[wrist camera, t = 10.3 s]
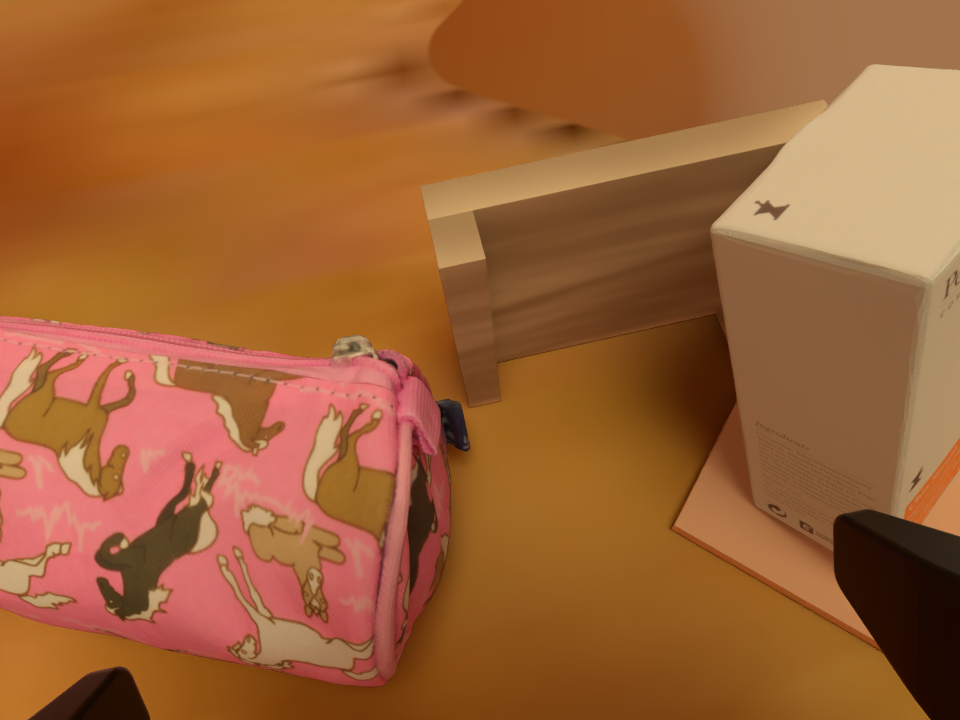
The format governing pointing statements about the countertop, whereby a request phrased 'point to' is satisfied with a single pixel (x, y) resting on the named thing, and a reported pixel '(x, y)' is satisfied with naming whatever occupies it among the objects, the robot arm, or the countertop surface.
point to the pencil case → (223, 495)
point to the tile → (774, 533)
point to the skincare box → (851, 305)
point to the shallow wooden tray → (592, 240)
